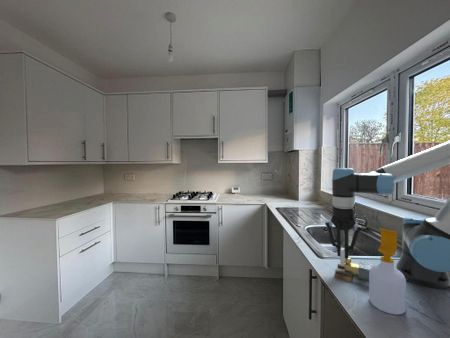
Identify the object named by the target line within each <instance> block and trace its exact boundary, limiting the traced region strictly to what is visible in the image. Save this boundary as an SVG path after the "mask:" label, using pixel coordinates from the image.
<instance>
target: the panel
mask: <svg viewBox="0 0 450 338" xmlns="http://www.w3.org/2000/svg"><path fill="white" fill-rule="evenodd" d="M336 270H340V271H344V272H345V269H343V268H339V267H338V266H337V267H336ZM334 278H335V279H340V280H343V281H346V282H350V283H352V284H353V283H354V284H356V285H361V286H364V287H368V288H369V282H367V281H363V280H359V276H358V275H354V274H351V277H348V276H344V275H341V274H337V273H335V272H334Z"/></svg>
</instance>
